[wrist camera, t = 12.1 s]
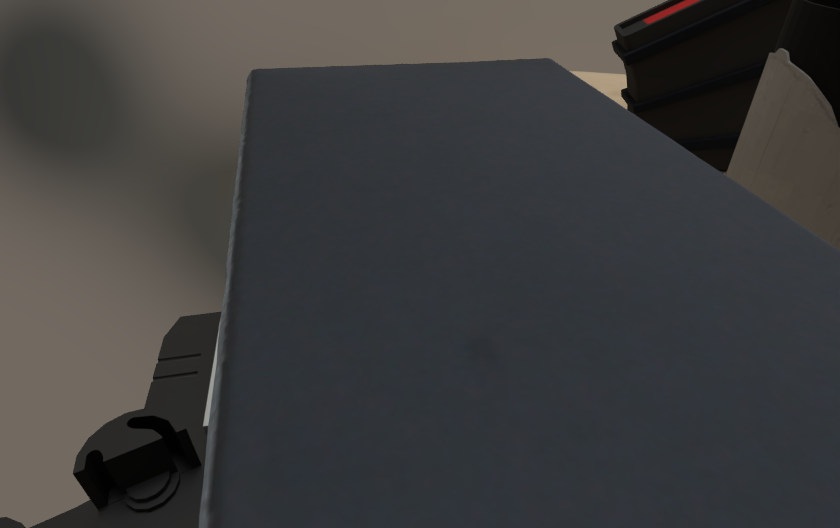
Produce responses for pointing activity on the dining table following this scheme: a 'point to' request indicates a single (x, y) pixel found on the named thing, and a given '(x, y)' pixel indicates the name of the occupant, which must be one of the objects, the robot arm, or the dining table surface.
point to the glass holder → (798, 123)
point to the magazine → (698, 68)
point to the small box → (510, 316)
